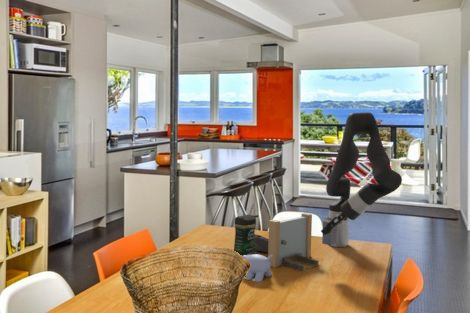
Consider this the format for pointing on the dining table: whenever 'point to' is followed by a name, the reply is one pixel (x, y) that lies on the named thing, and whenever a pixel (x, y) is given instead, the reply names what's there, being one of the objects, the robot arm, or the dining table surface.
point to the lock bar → (329, 233)
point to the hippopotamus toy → (258, 267)
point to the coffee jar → (245, 234)
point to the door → (289, 238)
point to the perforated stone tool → (261, 243)
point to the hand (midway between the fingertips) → (325, 231)
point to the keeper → (299, 262)
